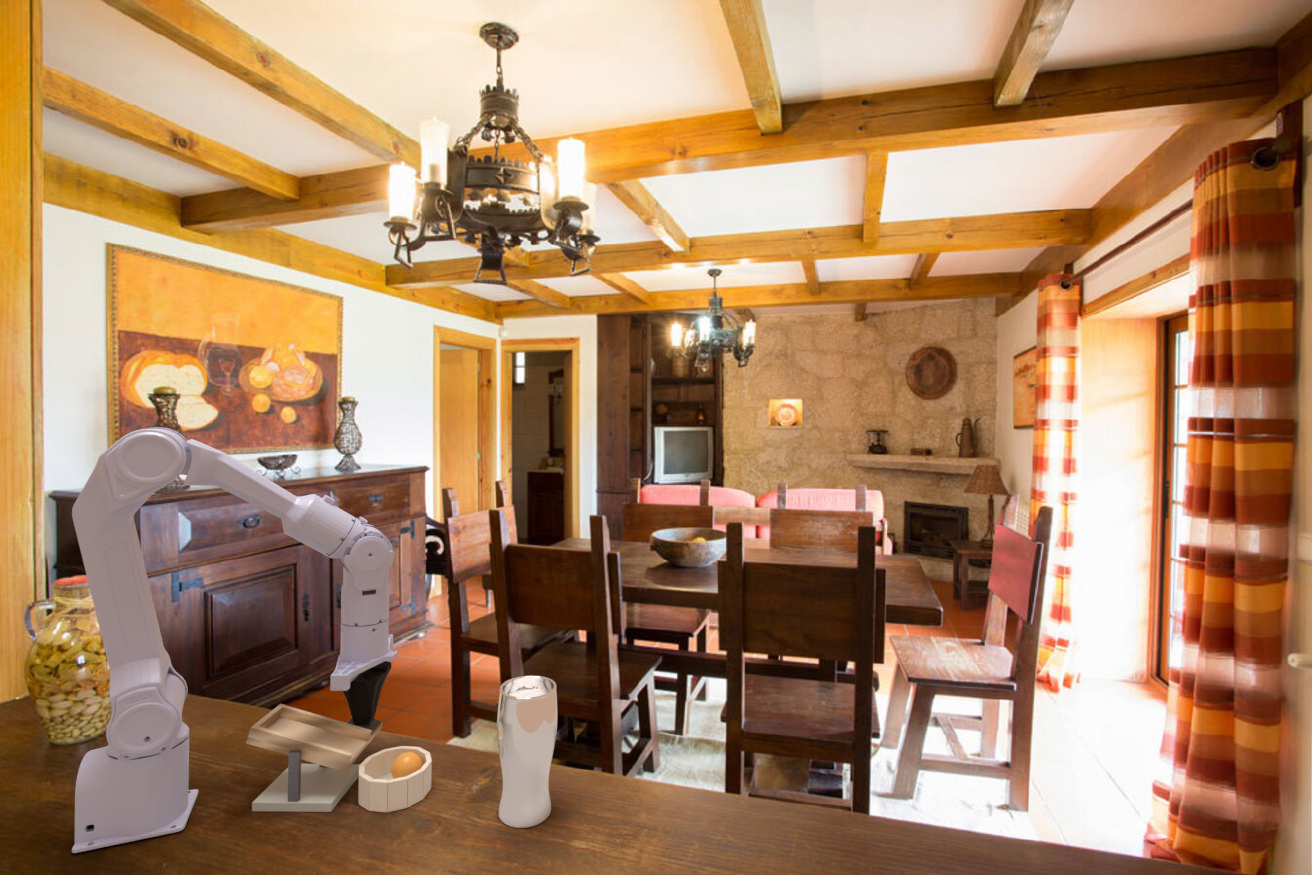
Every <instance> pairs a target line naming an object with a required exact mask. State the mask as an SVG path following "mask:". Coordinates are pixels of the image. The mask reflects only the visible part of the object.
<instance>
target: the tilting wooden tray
mask: <svg viewBox="0 0 1312 875" xmlns="http://www.w3.org/2000/svg"><path fill="white" fill-rule="evenodd" d="M383 724H384V722H382V720H379V719H376V718H374V720H373V721H372V722H371V723H370V724H369V725H354V723H353V720H352V716H351V717H350V718H349V719H348V720H347V721H346V722H345V721H342V720H339V719H334V718H331V717H327V716H324V715H322V714H317V713H313V712H312V711H311V712H310V711H308V710H303V709H300V708H297V707H294V706H290V705H287V704H283V703H279V704H278V705H277V706H276V707H275V708H273V709H272V710H271V711H269V712H268V713H266V714H265V715H264V716H263V717H262V718H260V719H259V720H258V721H257V722H256V723H254V724H253V725H252V726H250V728H249V731H248V735H247V739H246V741H245V744H247V745H250V746H253V747H257V748H261V749H264V750H267V751H271V752H275V753H278V754H280V755H281V754H282V755H284V756H288V754H289V752H290V751H291V750H301V761H302V760H303V761H306V762H309V763H311V764H319V765H323V766H326V767H330V768H333V769H336V770H340V771H343V772H346V770H347V769H348V768H349V767H350V766H351V764H354V762H355V761H356V760H357V758H358V757H360V755H361V754H362V752H363V751H364V750H365V749H367V746H368V745H369V744H370V743H371V742H372V740H374V738H375V737H376V735H377V734H379V732H380V731H381V730H382V728H383Z"/></svg>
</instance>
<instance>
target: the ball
mask: <svg viewBox="0 0 1312 875" xmlns="http://www.w3.org/2000/svg"><path fill="white" fill-rule="evenodd" d="M421 767H422V760H421V758H420V757H419V756H418V755H417V754H416V753H413V752H405V753H403V754H401V755H399V756H398V757H397V758H396V759H395V761H394V762H393V765H392V769H391V773H392V777H393V779H395V778H400V777H405V776H408V775H410V774H412V773H414V772H416V771H418V770H420V769H421Z"/></svg>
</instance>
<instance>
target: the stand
mask: <svg viewBox="0 0 1312 875" xmlns="http://www.w3.org/2000/svg"><path fill="white" fill-rule="evenodd" d="M287 756H288V758H287V759H288V760H287V762H288V765H287V766H288V767H286V769H285V770H283V772H281V773H280V775H278V776H277V778H275V780H273V782H272V783H271V784H269V785H268V787H266V788H265V790H263V791H262V792H261V793H260V794H259V795H258V796H257V797H256V798H255V799H254V800H253V801H252V803H251V811H252V812H291V813H293V812H298V813H301V812H302V813H303V812H307V813H308V812H309V813H310V812H311V813H313V812H314V813H317V812H318V813H319V812H320V813H331V812H333V810H334V809H335V808H336V806H337V804H338V803H339V802H340V801H341V800H342V798H343V797H344V796H345V795H346V793H347V792H348V791H349V789H350V788H351V787H352V786H353V785H354V784H355V782H356V781H357V779H359V765H360V764H361V763H357V764H356V763H352V764H351V766H350V767H349V768H348V769H347V770H346V772H343V771H340V770H336V769H333V768H330V767H326V766H323V765H319V764H316V763H302V759H301V750H291V751H290V752H289V754H288V755H287Z"/></svg>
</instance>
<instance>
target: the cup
mask: <svg viewBox="0 0 1312 875" xmlns="http://www.w3.org/2000/svg"><path fill="white" fill-rule="evenodd" d="M405 752H413V753H416V754H417V755H418V756H419V757H420V758H421V760H422V767H421V769H420V770H418V771H416V772H414V773H412V774H410V775H408V776H405V777H400V778H395V779H393V777H392V773H391V769H392V765H393V762H394V761H395V759H396V758H397V757H398V756H399V755H401V754H403V753H405ZM432 762H433V760H432V754H431V753H430V751H427V750H426V749H424V748H422V747H420V746H409V745H400V746H395V747H389V748H385V749H382V750H379V751H377V752H375V753H372V754H370V755H369V756H367V757H366V758H365V759H364V760H363V761H362V762H361V763H359V764H360V765H359V777H358V784H357V785H358V786H357V787H358V788H357V789H358V790H357V792H358V793H357V794H358V795H357V802H358V806H360V807H362V808H363V809H365V810H367V811H369V812H377V813H378V812H379V813H391V812H394V811H395V812H396V811H399V810H403V809H407V808H410V807H412V806H413V805H415V804H417V803H419V802H420V801H422V800H424V799H425V797H426V796H427V795H428V793H429V792H430V791H431V789H432V765H433V763H432Z"/></svg>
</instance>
